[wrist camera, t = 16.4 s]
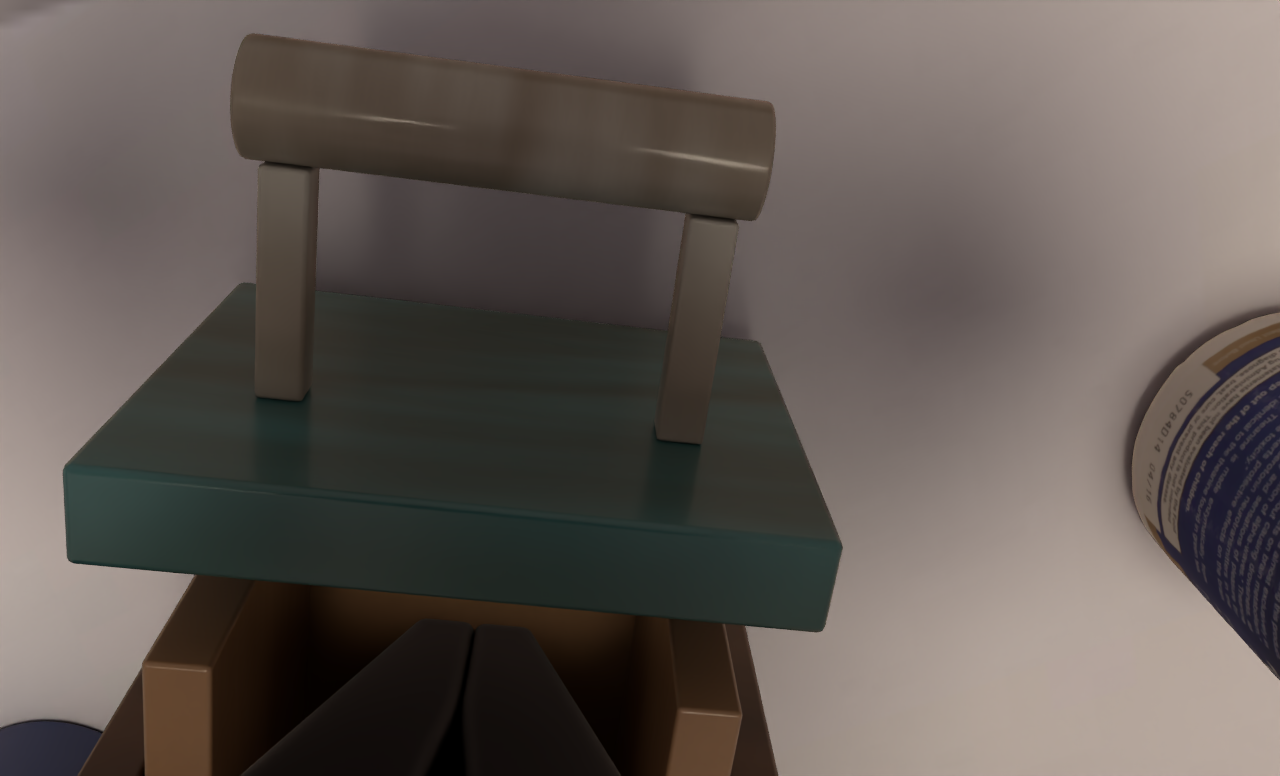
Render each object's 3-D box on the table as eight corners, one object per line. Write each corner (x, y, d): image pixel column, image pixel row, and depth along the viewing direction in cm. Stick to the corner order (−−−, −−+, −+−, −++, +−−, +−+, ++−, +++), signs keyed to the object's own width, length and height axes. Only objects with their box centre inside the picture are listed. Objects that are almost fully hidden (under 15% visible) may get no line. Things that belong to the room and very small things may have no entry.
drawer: (242, -5, 17) (36, 39, 11) (809, 72, 18) (934, 156, 11) (233, 848, 23) (97, 1206, 16) (663, 880, 23) (691, 1234, 17)
